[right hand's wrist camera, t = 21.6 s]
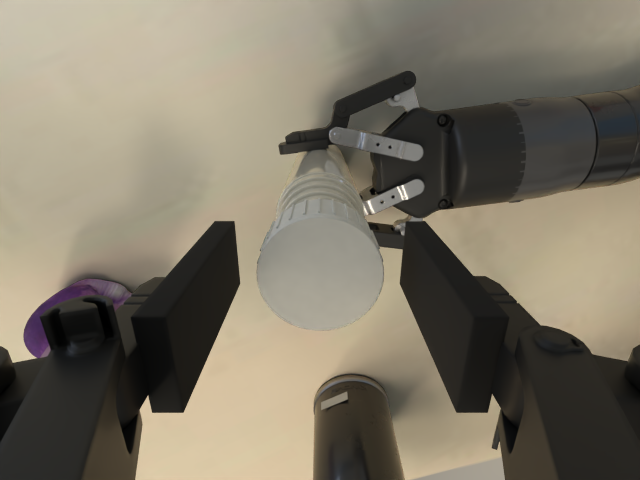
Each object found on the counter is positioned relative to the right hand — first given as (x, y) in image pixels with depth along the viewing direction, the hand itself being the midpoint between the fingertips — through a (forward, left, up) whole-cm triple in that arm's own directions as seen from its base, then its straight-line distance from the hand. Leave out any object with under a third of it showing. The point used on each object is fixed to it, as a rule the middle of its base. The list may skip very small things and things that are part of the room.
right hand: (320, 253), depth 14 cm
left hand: (-2, +2, -15) cm, 15 cm away
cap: (0, 0, +2) cm, 2 cm away
